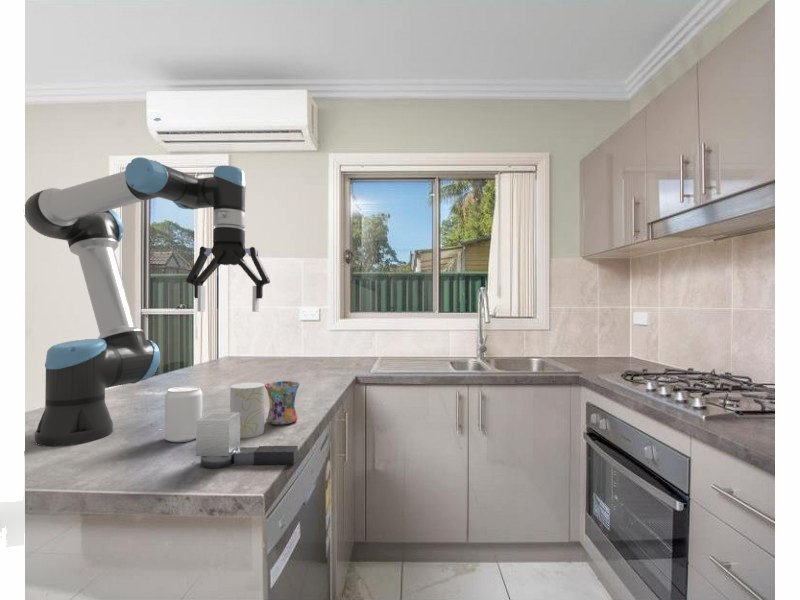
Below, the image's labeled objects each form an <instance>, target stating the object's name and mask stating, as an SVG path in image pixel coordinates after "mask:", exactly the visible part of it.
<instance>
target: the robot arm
mask: <svg viewBox="0 0 800 600" xmlns="http://www.w3.org/2000/svg"><path fill="white" fill-rule="evenodd" d="M212 175H213V176H210V177H200V178H198V177H195V176H192V175H190V174H188V173H184V172H182V171H180V170H178V169H175V168H172V167H170V166H167V165H165V164H162V163H160V162H159V161H157V160H153V159H148V158H146V157H141V156H139V157H135V158H133V159H131V160H130V162H128V163H127V165H126V166H125V170H124V171H121V172H120V171H119V172H118V173H113V174H111V175H107V176H104V177H101V178H100V177H99V178H96V179H93V180H90V181H86V182H84V183H83V182H82V183H79V184H76V185H72V186H70V187H65V188H63V189H61V188H57V187H56V188H55V187H51V188H45V189H43V190H40V191H37V192H34V193H33V194H32V195H31V196H30V197H28V198H27V199H26V202H25V204H24V206H25V215H24V219H25V220H26V222H27V224H28V225H29V227H31V228H32V229H33V230H34V231H35V232H36V233H38V234H40V235H42V236H44V237H47V238H50V239H56V240H62V241H66V242H67V245H68V248H69V251H70V252H71V254H74V255H76V256H78V259H79V262H80V267H81V270H82V273H83V277H84V281H85V285H86V288H87V292H88V295H89V296H88V297H89V300H90V303H91V306H92V310H93V313H94V317H95V321H96V325H97V329H98V333H99V336H98V337H97V338H86V339H80V340H79V339H78V340H70V341H66V342H60V343H55V344H53V345H52V346H51V347H49V348H48V349H47V352H46V355H45V357H46V358H45V363H44V367H45V391H44V392H45V400H44V402H45V403H44V404H45V405H44V410H43V413H42V415H41V418H40V421H39V423H38V425H37V428H36V430H35V432H34V444H36V443H37V444H36V445H38V444H39V445H38V446H43V445H45V446H46V447H57V446H59V447H60V446H68V445H76V444H81V443H86V442H91V441H95V440H99V439H102V438H104V437H107V436H109V435H110V434H112V433H113V431H114V422H113V420H112V418H111V414H110V412H109V409H108V406H107V404H106V389H108V388H109V389H110V388H113V387H114V388H115V387H117V386H118V387H119V386H124V385H128V384H129V385H130V384H136V383H138V382H141V381H145V380H148V379H150V378H152V377H153V375H154V374H155V373H156V372H157V370H158V369H157V368H158V367H159V366H160V362H161V352H160V351H161V350H160V349H159V346H158V345H157V342H156V343H155V342H154V341H153V340H150V339H147V338H146V335H145V331H144V330H143V329H142V328H140V327H138V326H136V322H135V318H134V316H133V313H132V309H131V306H130V301H129V298H128V295H127V291H126V288H125V284H124V281H123V277H122V274H121V270H120V267H119V263H118V259H117V256H116V253H115V251H116V250H117V249H118V247H119V245H120V244H119V243H120V242H121V241H122V238H123V234H122V233H124V224H123V221H122V219H121V217H120V216H119V214H118V213H117V212H115V211H114V210H116V209H119V208H122V207H126V206H128V205H129V206H130V205H133V204H137V203H140V202H143V201H149V200H154V199H157V198H161V199H165V200H167V201H170V202H173V203H174V204H175V206H176V207H178V208H179V209H184V210H198V209H207V208H208V209H209V208H213V226H214V229H212V230H213V231H212V232H213V234H212V236H213V238H212V239H213V240H212V241H213V242H212V243H213V244H212V248H211V247H206V246H200V247H199V252H198V253H199V254H198V257H197V259H196V260H195V262H194V264H193V266H192V267H191V270H190V272H189V273H188V276H187V278H186V279H185V280H186V282H187V283H188V284H191V285H193V287H194V288H193V289H194V290H193V292H194V293H193V296H194V299H197V312H200V313H201V312H206V286H205V285H203V284H204V283H205V282H206V281H207V280H208V278H210V277H211V275H212V274H213V273H214V272H215V271H216V270H217V268H219V267H220V266H221V265H223V266H230V265H232V266H237V265H239V266H240V267H241V269H242V270H243V271H244V273H246V275H247V276H248V277H249V278H250V279H251V280H252V282H253V283H254V285H252V301H251V302H252V303H251V304H252V306H251V307H252V308H251V310H252V313H253V312H257V313H258V312H259V310H260V309H259V307H260V306H259V305H260V304H259V303H260V302H259V301H260V300H259V299H263V295H264V294H263V293H264V292H263V290H264V289H263V288H264V285H267V284H268V285H269V284H270V283H271V280H270V277H269V275H268V274H267V272H266V269H265V267H264V265H263V264H262V262H261V260H260V259H261V258H260V257H259V251H258V248H256V247H254V246H250V247H249V248H246V246H245V245H246V239H245V238H246V231H245V230H244V229H245V228H246V209H245V208H246V207H245V206H246V204H245V203H246V189H247V186H246V175H245V172H244V170H242V169H241V168H238V167H237V166H234V165H226V164H224V165H223V164H222V165H218V166H216V167H214V168H213V173H212ZM211 254H212V255H213V258H212V259H211V260H210V262H209V264H208V265H207V266H206V267H205V269H203V268H204V265H205V263H206V262H207V260H208V257H209V256H210V255H211ZM246 255H248V256H249V257H250V258H251V260H252V262H253V264H254V267H255V268H256V271H257V273H258V274H259V276H260V277H258V275H257V274H256V273H255V272H254V270H253V269H252V268H251V267H250V266H249V265H248V263H247V261H246V260H245V259H244V257H245V256H246ZM202 269H203V270H202Z"/></svg>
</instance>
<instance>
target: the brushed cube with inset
mask: <svg viewBox="0 0 800 600" xmlns="http://www.w3.org/2000/svg"><path fill="white" fill-rule="evenodd" d="M195 446H196V447H195V456H196V457H201V456H229V455H230V454H231V453H233V452H234V451H235V450H236V449H237V448H238V449H239V448H240V446H241V438H240V412H230V411H229V412H223V411H221V412H219V411H218V412H215V411H214V412H208V413H207V414H205V415H204V416H203V415H202V418H200V419H198V420H197V421H196V439H195Z"/></svg>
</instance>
